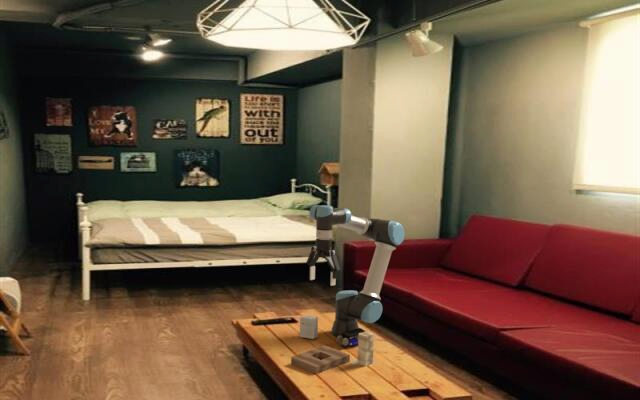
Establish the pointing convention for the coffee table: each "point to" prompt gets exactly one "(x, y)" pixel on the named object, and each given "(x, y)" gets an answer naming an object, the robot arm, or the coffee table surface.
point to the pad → (357, 363)
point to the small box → (308, 326)
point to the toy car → (346, 337)
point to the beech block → (365, 348)
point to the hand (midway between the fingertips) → (322, 282)
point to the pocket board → (315, 365)
